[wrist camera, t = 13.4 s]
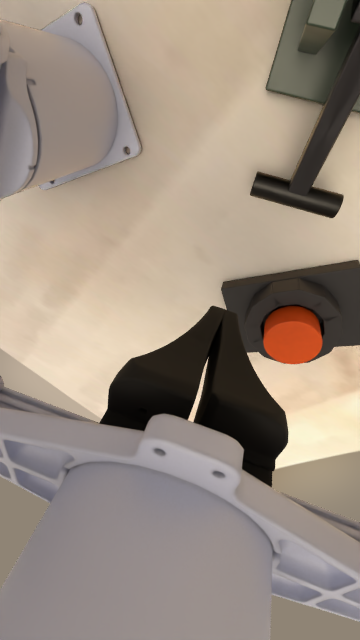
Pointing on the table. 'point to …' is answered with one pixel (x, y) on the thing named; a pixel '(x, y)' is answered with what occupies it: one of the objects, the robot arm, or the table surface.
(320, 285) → the button box
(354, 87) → the lever
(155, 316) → the table surface
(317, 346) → the button
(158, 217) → the table surface
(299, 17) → the bracket
